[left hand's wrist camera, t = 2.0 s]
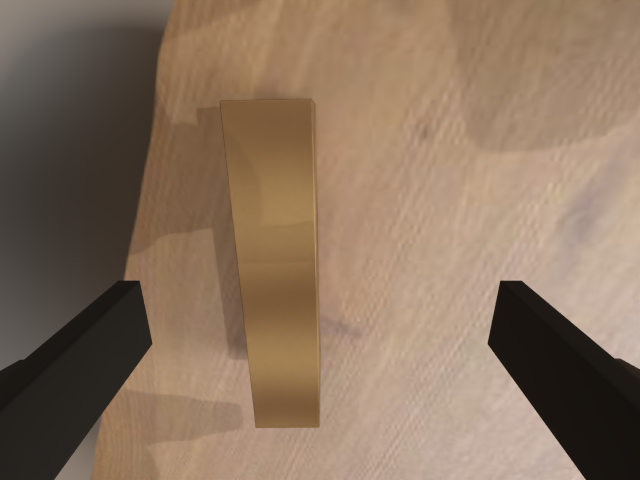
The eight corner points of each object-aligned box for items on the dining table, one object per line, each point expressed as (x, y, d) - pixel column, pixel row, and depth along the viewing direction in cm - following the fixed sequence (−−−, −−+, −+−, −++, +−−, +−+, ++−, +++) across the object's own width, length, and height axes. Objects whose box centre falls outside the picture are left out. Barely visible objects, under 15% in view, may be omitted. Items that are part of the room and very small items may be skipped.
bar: (249, 103, 26) (219, 100, 19) (315, 102, 26) (312, 98, 19) (270, 357, 35) (255, 428, 27) (320, 357, 35) (320, 427, 27)
